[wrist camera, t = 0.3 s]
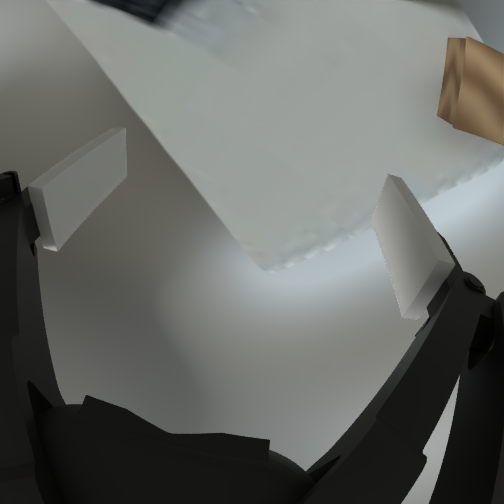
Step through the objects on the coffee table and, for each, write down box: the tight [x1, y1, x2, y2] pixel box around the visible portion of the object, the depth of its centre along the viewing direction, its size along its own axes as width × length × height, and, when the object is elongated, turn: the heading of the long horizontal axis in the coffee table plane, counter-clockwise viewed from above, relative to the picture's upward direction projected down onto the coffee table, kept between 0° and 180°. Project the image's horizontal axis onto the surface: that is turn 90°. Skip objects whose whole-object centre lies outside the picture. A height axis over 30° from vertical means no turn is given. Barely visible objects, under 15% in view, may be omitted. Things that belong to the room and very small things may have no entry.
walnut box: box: [437, 37, 504, 145], centre depth 27 cm, size 12×12×6 cm
